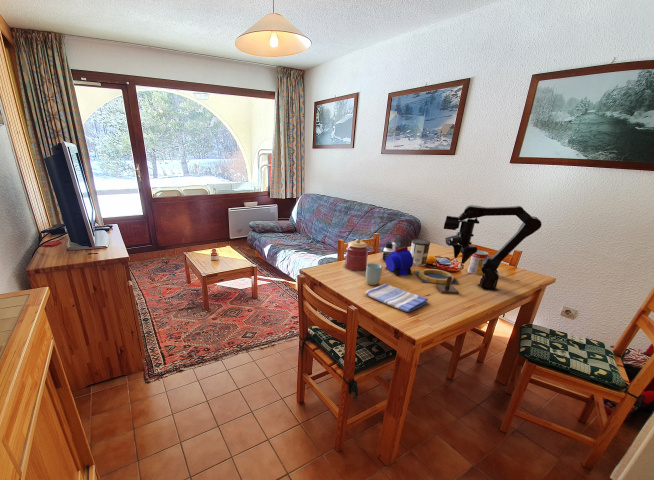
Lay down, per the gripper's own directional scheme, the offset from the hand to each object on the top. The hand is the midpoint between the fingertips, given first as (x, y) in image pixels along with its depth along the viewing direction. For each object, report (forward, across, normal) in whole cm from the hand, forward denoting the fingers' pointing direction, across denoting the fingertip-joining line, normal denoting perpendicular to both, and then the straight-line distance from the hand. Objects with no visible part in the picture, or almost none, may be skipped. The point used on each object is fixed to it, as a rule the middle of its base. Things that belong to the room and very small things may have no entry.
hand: (459, 260), depth 161 cm
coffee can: (+12, -29, -11) cm, 33 cm away
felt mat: (+12, -5, -8) cm, 15 cm away
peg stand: (+12, +12, -8) cm, 19 cm away
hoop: (+12, -4, -8) cm, 15 cm away
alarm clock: (+12, -12, -27) cm, 32 cm away
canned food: (+12, -17, +18) cm, 28 cm away
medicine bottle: (+12, -32, -28) cm, 44 cm away
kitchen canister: (+12, -17, -50) cm, 54 cm away
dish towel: (+12, +26, -36) cm, 46 cm away
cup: (+12, +8, -44) cm, 46 cm away
